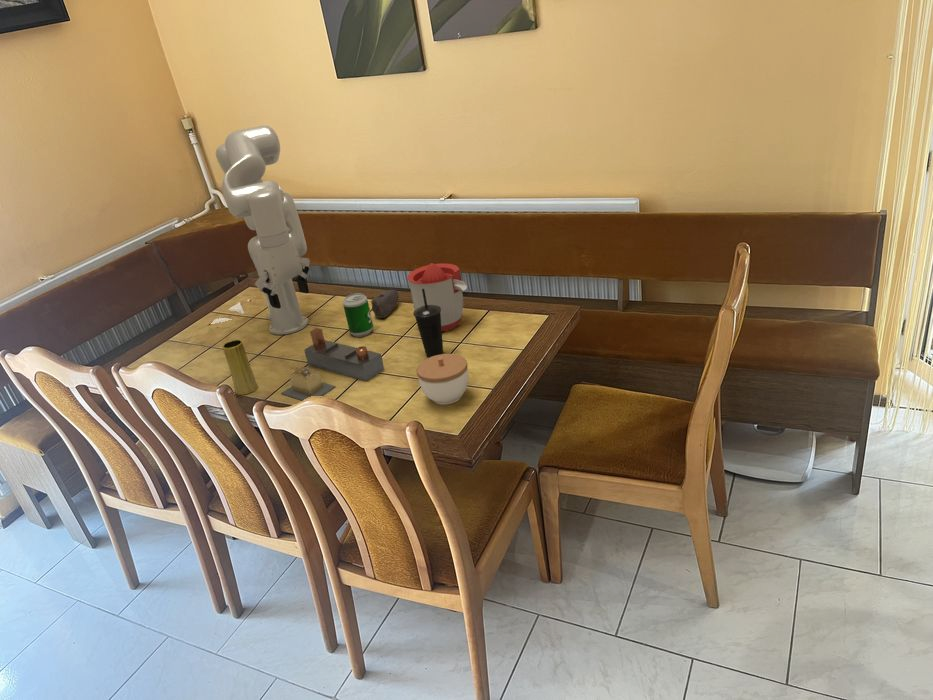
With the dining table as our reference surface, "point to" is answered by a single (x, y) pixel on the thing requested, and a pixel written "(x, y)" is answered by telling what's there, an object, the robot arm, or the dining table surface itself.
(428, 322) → the drinking cup
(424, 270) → the citrus juicer
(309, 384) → the lever cap
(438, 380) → the lidded bowl
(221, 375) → the dining table surface
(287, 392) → the mat
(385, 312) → the perforated stone tool
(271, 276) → the robot arm
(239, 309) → the paper scraps
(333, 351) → the plane body
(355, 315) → the soda can
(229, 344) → the vase
